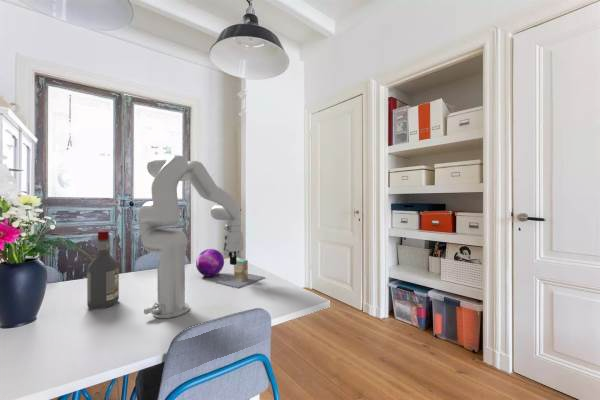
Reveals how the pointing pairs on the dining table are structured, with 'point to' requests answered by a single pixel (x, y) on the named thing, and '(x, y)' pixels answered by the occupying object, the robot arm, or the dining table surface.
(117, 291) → the liquor
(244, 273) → the maple block
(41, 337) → the dining table surface
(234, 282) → the slate mat
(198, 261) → the decorative orb
